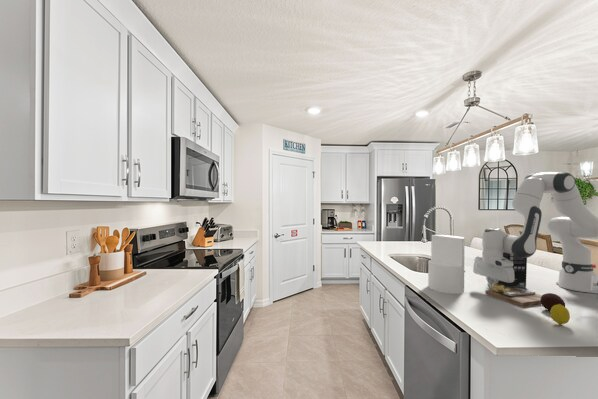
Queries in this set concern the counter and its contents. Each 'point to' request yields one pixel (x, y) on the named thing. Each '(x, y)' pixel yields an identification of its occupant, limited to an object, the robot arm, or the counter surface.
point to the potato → (551, 300)
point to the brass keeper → (499, 288)
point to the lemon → (560, 314)
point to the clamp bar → (519, 293)
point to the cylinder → (446, 264)
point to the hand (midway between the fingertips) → (492, 286)
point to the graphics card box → (516, 271)
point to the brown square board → (517, 298)
